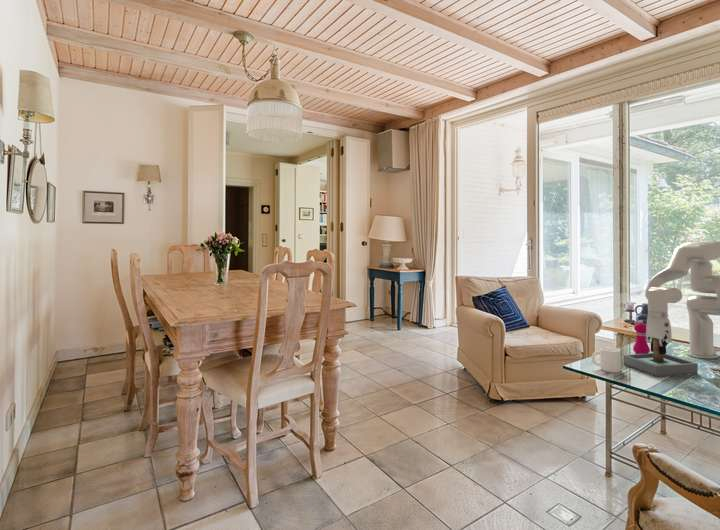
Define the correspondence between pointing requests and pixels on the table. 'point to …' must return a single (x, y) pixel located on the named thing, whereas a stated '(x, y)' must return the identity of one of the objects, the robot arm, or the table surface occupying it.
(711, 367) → the table surface
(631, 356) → the tray
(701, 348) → the robot arm
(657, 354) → the peg
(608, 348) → the mug
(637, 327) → the pepper mill
